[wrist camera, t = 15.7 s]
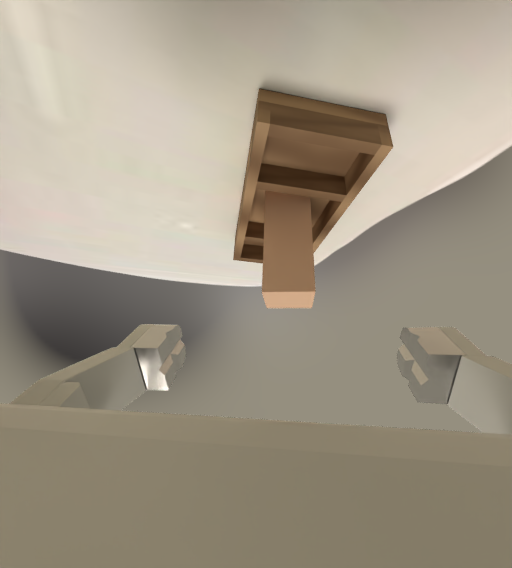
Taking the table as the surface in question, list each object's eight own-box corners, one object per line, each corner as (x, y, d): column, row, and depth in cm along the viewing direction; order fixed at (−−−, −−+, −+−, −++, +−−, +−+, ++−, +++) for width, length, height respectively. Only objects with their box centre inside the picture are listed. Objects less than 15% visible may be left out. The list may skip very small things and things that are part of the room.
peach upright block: (265, 190, 23) (262, 292, 19) (309, 187, 23) (315, 291, 19) (269, 218, 27) (266, 308, 23) (307, 216, 26) (311, 307, 23)
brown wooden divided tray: (258, 88, 17) (257, 121, 15) (385, 114, 18) (393, 146, 17) (235, 238, 33) (233, 259, 32) (301, 246, 34) (302, 267, 33)
